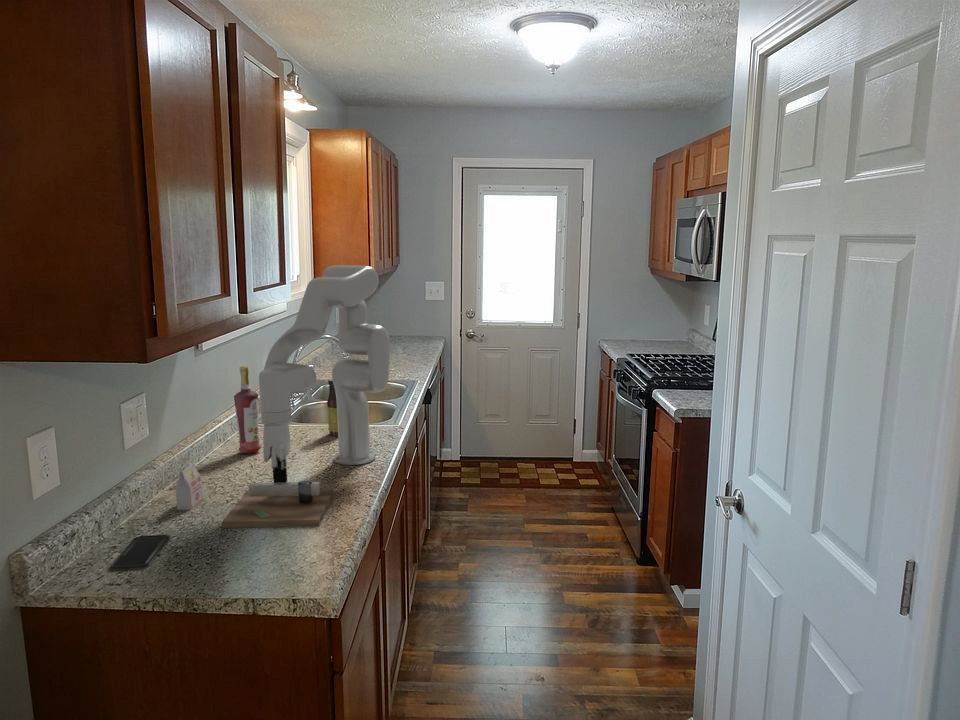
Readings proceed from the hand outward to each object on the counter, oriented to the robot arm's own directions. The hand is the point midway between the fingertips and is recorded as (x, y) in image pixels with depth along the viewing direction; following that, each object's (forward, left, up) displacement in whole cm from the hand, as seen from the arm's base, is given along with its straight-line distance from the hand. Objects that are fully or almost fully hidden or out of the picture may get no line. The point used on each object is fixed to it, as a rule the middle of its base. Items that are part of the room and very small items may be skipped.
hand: (280, 483), depth 180 cm
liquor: (-40, -20, -4) cm, 45 cm away
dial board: (+8, +2, -4) cm, 9 cm away
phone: (+31, -23, -5) cm, 39 cm away
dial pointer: (+7, +3, -2) cm, 8 cm away
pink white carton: (+3, -23, -4) cm, 23 cm away
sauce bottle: (-59, +5, -4) cm, 60 cm away
